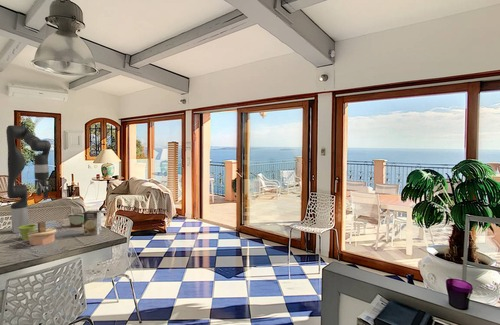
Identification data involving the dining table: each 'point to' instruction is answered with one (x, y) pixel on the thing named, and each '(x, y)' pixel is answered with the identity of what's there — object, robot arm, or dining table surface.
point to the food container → (76, 219)
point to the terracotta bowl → (42, 239)
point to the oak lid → (41, 231)
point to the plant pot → (26, 230)
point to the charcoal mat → (67, 234)
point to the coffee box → (92, 222)
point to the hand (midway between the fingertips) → (42, 196)
